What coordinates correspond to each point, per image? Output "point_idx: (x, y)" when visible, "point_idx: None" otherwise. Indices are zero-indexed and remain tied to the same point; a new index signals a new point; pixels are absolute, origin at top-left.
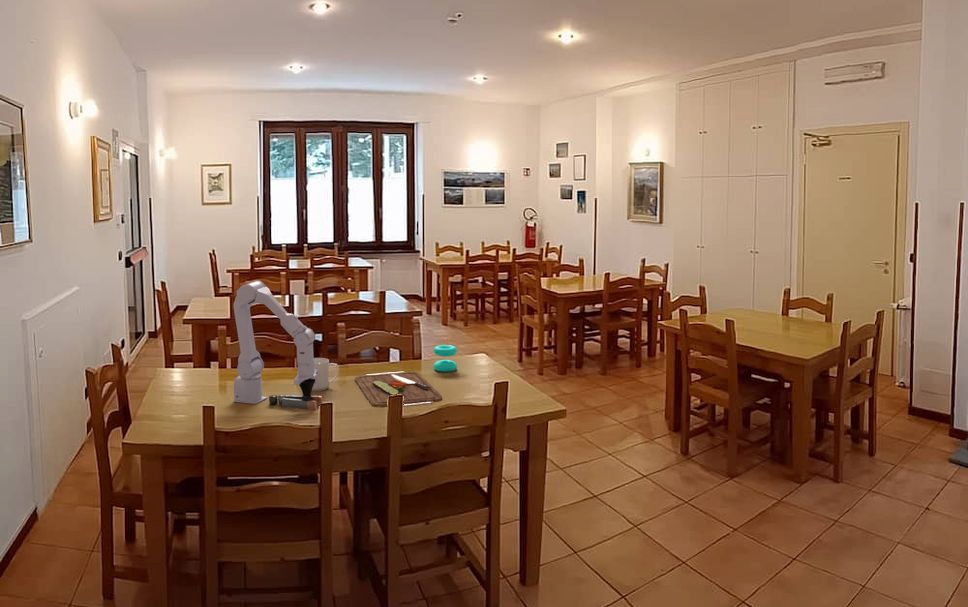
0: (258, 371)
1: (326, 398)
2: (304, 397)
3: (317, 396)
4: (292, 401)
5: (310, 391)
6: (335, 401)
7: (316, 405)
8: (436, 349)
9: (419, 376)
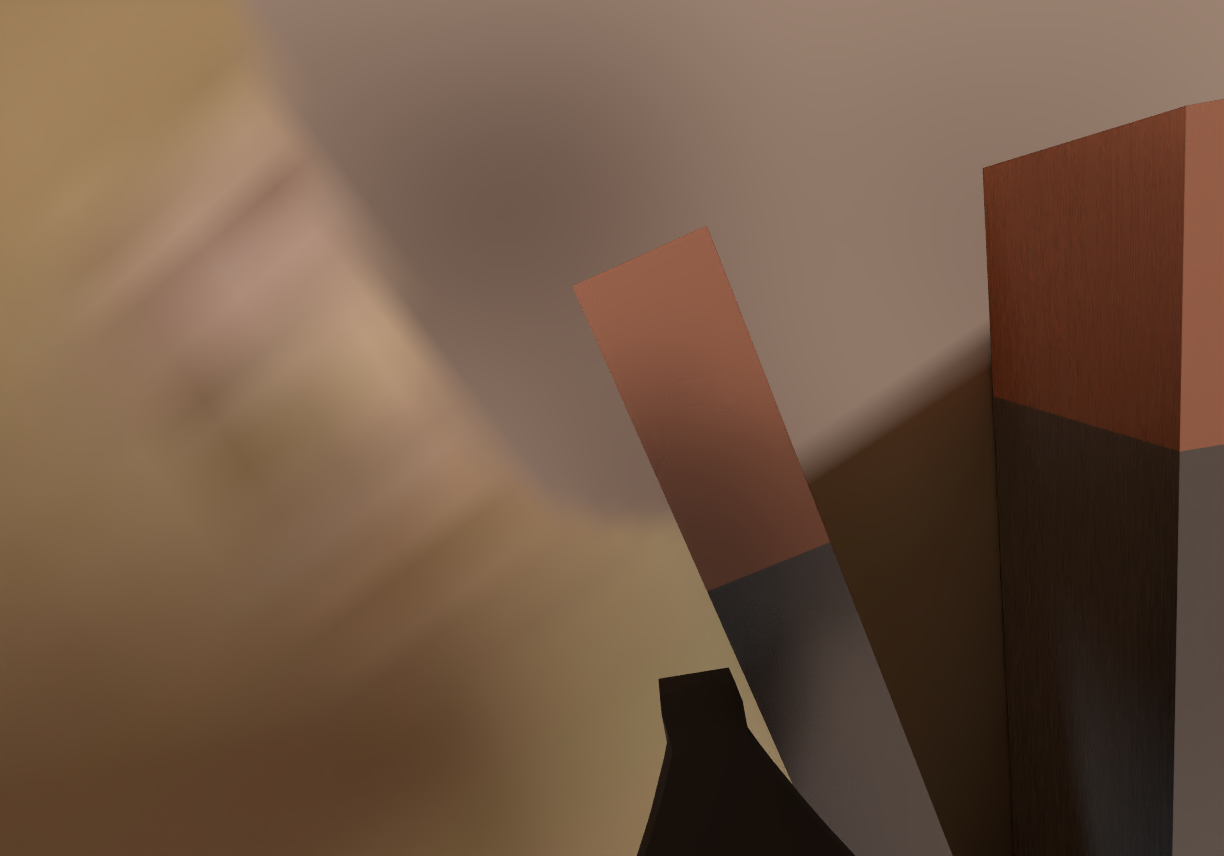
0: None
1: (107, 521)
2: (921, 779)
3: (720, 406)
4: None
5: (766, 839)
6: (154, 134)
7: (1055, 147)
8: None
9: None
